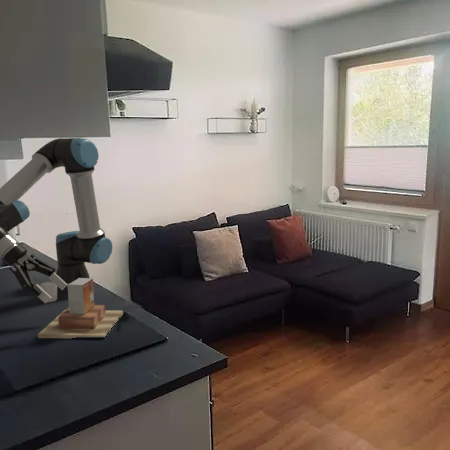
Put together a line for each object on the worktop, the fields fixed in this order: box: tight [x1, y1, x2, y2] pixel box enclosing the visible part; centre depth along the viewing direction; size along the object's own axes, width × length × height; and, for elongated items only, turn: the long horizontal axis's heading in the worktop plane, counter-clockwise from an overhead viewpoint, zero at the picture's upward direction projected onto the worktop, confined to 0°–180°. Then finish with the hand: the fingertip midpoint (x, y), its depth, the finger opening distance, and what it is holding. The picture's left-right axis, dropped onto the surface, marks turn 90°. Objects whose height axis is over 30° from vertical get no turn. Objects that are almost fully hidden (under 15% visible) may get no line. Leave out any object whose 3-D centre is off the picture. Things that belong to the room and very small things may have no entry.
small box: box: [67, 278, 95, 315], centre depth 155 cm, size 8×6×10 cm
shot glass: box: [38, 280, 58, 303], centre depth 182 cm, size 7×7×7 cm
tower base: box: [37, 304, 124, 339], centre depth 156 cm, size 22×22×5 cm
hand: (57, 293), depth 155 cm, fingers open, 13 cm apart
